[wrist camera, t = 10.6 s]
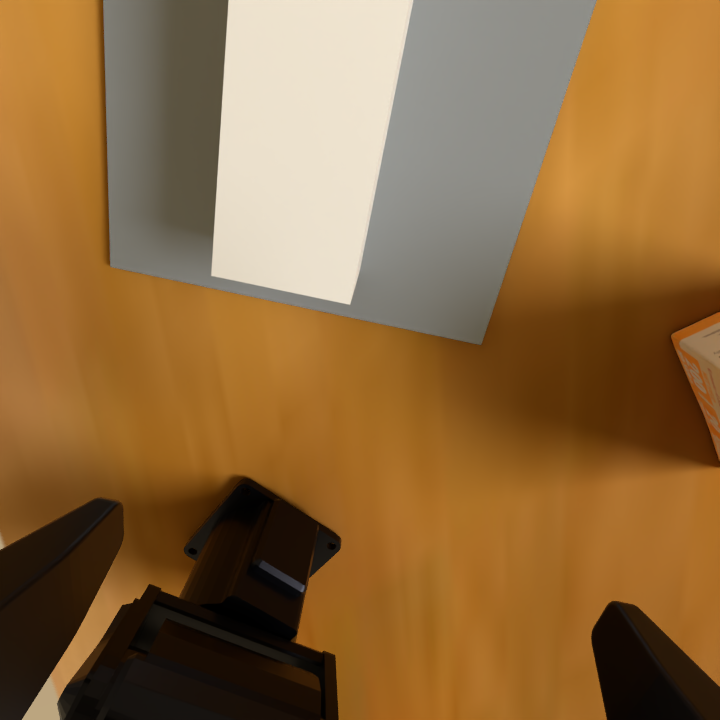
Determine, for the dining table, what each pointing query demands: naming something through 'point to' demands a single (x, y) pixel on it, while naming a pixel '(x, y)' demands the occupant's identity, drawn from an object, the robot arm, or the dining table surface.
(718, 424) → the supplement box
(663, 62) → the dining table surface
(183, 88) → the mat
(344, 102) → the block
